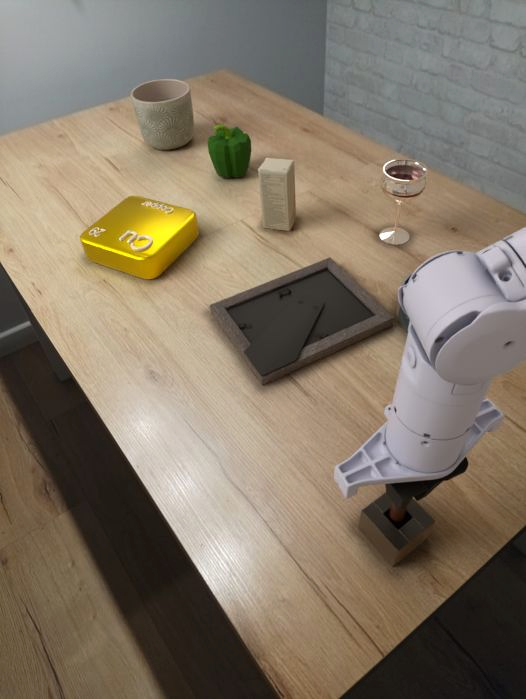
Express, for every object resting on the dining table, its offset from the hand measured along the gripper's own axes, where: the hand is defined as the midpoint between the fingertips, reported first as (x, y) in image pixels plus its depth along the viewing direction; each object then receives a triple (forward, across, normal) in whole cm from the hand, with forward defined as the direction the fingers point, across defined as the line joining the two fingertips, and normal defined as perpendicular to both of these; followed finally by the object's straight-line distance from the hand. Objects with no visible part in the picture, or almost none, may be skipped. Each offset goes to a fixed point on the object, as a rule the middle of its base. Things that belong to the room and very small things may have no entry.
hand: (404, 494), depth 47 cm
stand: (+8, 0, 0) cm, 8 cm away
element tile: (+8, +10, -61) cm, 62 cm away
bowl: (+8, -23, -24) cm, 34 cm away
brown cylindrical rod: (+4, 0, 0) cm, 5 cm away
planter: (+8, -6, -96) cm, 96 cm away
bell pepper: (+8, -13, -76) cm, 78 cm away
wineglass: (+8, -29, -43) cm, 52 cm away
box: (+8, -14, -56) cm, 58 cm away
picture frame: (+8, -6, -32) cm, 34 cm away
